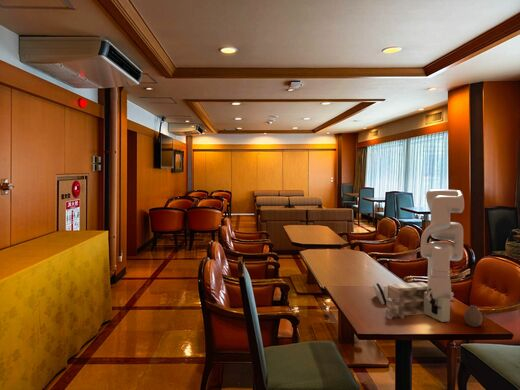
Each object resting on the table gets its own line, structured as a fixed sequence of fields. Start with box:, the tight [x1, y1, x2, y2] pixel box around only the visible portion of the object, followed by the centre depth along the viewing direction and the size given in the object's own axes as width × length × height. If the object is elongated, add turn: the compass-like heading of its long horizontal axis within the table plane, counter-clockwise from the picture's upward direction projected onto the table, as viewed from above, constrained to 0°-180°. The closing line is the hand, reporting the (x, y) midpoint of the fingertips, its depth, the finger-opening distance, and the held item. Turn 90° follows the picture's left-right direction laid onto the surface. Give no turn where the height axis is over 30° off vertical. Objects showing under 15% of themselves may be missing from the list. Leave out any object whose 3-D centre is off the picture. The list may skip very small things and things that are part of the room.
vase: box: [463, 304, 483, 328], centre depth 169 cm, size 7×7×9 cm
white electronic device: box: [372, 282, 388, 305], centre depth 204 cm, size 17×5×10 cm, turn 173°
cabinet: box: [385, 281, 428, 320], centre depth 183 cm, size 26×11×13 cm, turn 106°
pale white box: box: [424, 292, 451, 323], centre depth 176 cm, size 5×12×10 cm, turn 16°
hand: (438, 312), depth 175 cm, fingers closed on pale white box, 4 cm apart
